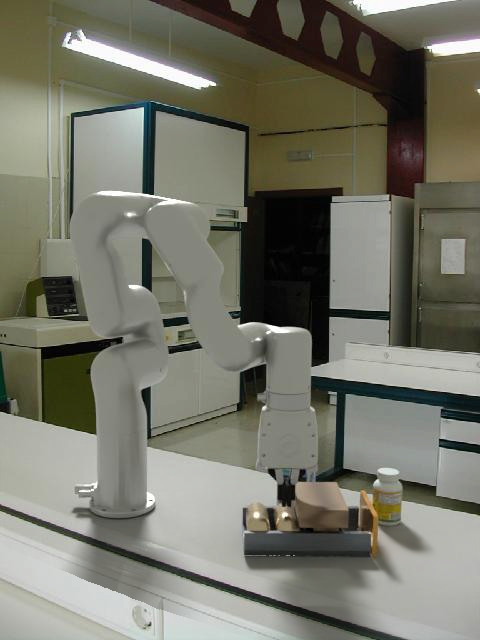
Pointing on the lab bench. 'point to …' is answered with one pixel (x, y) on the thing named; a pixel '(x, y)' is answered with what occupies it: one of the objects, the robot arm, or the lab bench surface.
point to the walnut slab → (320, 505)
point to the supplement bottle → (387, 497)
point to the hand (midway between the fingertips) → (286, 503)
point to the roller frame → (308, 532)
